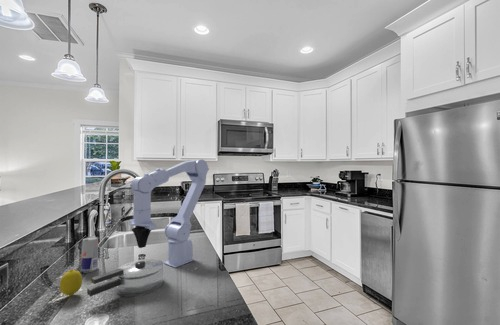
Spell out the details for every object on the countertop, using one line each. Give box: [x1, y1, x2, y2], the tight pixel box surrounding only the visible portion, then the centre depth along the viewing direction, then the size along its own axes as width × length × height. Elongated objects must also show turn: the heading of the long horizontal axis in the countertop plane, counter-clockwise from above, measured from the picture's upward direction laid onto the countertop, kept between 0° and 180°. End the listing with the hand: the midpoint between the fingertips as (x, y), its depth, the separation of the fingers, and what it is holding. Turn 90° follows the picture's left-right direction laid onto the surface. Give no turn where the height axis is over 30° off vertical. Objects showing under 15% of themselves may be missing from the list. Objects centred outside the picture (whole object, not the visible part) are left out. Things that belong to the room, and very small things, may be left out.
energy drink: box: [80, 236, 99, 274], centre depth 92 cm, size 5×5×12 cm
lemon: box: [59, 269, 83, 297], centre depth 73 cm, size 6×6×8 cm
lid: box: [90, 258, 164, 285], centre depth 77 cm, size 21×14×2 cm, turn 143°
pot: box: [86, 266, 164, 298], centre depth 76 cm, size 22×14×5 cm, turn 143°
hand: (142, 247), depth 87 cm, fingers closed
